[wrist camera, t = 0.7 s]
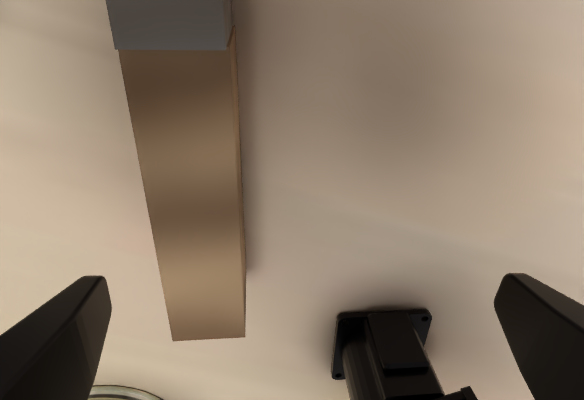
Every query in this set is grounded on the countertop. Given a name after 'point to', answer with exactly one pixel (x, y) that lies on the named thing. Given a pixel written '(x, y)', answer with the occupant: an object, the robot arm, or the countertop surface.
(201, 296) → the brown wooden bar
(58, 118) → the countertop surface
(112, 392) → the coffee can
